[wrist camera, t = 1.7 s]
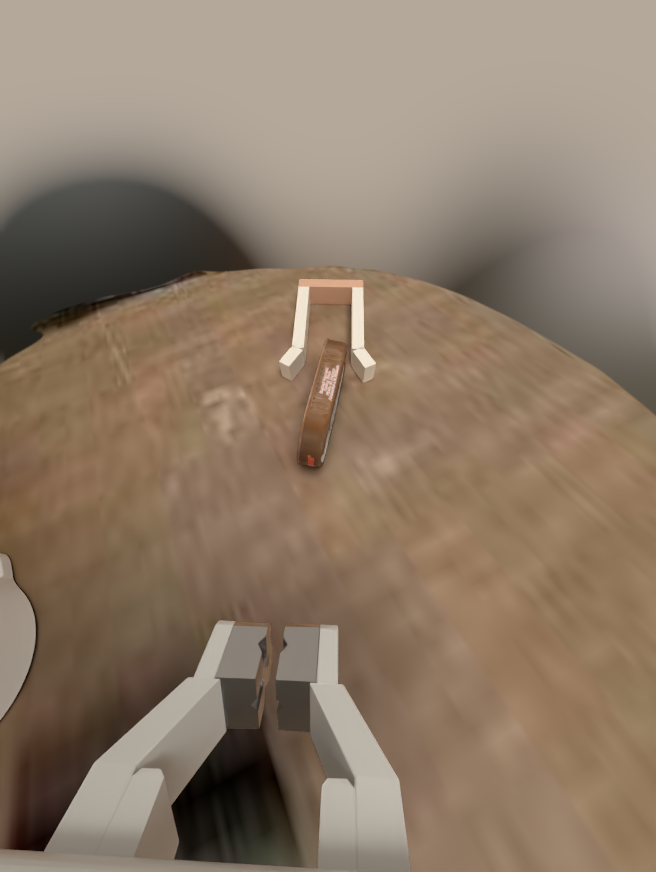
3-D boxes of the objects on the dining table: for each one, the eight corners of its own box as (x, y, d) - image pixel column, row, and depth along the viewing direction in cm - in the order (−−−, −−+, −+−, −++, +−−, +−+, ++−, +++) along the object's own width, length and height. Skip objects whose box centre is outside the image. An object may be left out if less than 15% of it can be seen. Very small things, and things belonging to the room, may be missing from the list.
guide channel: (281, 381, 42) (278, 366, 39) (292, 296, 49) (289, 279, 46) (373, 383, 42) (376, 368, 39) (370, 297, 49) (372, 280, 46)
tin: (325, 369, 43) (324, 320, 35) (349, 373, 43) (353, 324, 35) (297, 475, 36) (288, 443, 29) (325, 480, 36) (323, 449, 29)
